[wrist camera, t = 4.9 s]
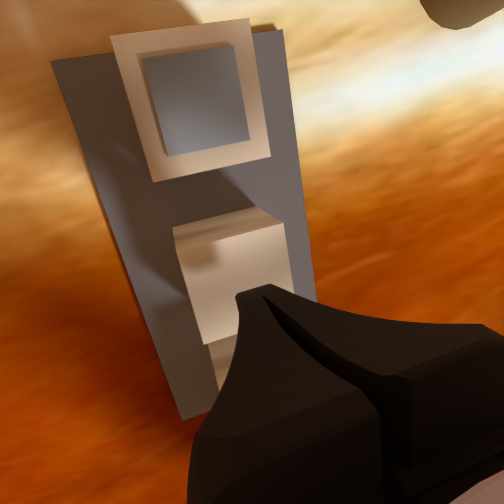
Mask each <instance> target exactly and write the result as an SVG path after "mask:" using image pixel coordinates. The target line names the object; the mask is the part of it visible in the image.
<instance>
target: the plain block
mask: <svg viewBox="0 0 504 504" xmlns="http://www.w3.org/2000/svg"><path fill="white" fill-rule="evenodd" d="M172 229H173V235H174V241H175V247H176V253H177V256H178V259H179V263H180V266H181V269H182V273H183V276H184V280H185V283H186V286H187V290H188V293H189V297H190V300H191V303H192V307H193V310H194V313H195V317H196V320H197V324H198V327H199V330H200V334H201V337H202V341H203V344H204V345H205V344H208V343H211V342H214V341H217V340H220V339H223V338H226V337H229V336H232V335H235V334H237V333H238V324H239V312H238V308H237V304H236V300H235V296H236V294H237V293H239V292H243V291H246V290H249V289H253V288H256V287H259V286H263V285H266V284H269V283H270V284H273V285H276V286H278V287H280V288H282V289H285V290H287V291H289V292H292V293H294V289H293V282H292V276H291V269H290V263H289V256H288V250H287V243H286V237H285V230H284V224H283V222H281V221H279V220H278V219H276V218H275V217H273V216H271V215H270V214H268V213H266V212H265V211H263V210H262V209H260V208H258V207H257V206H255V207H251V208H247V209H243V210H239V211H235V212H231V213H227V214H223V215H219V216H215V217H211V218H207V219H203V220H199V221H195V222H191V223H187V224H183V225H179V226H175V227H172Z"/></svg>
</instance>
